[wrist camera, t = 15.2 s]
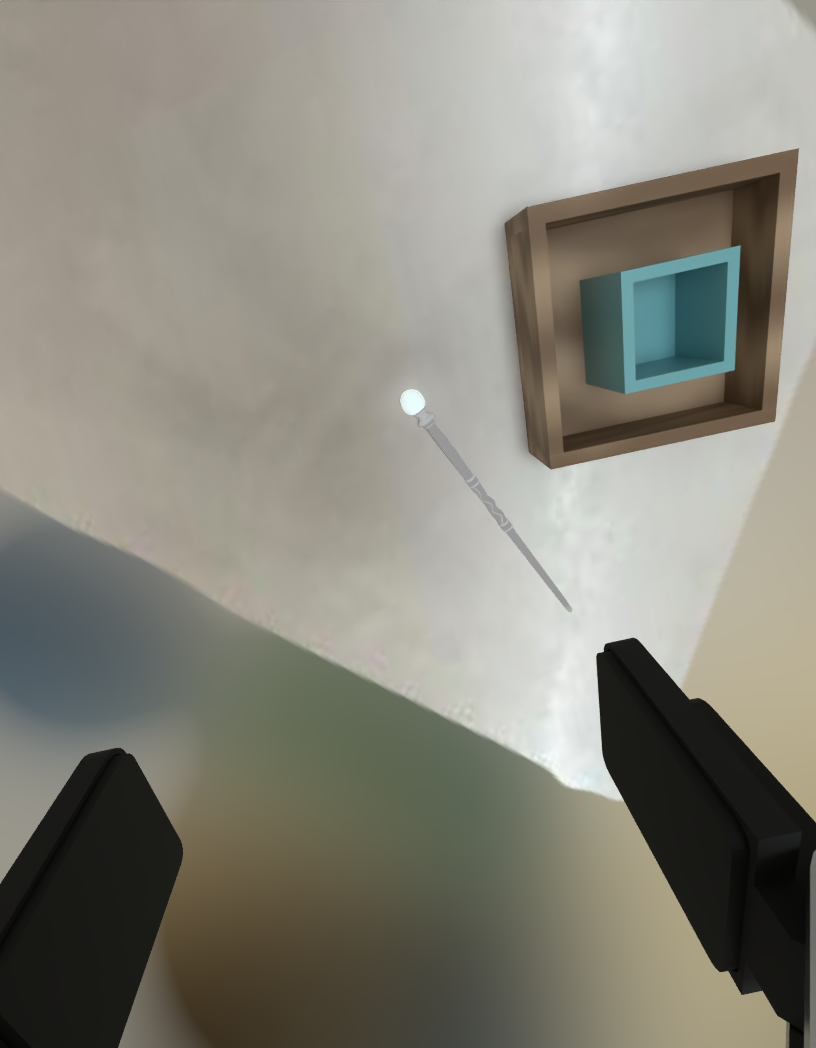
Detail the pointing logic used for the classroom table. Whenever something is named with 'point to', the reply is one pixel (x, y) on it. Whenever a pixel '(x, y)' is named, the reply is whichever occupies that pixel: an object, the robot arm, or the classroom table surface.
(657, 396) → the big crate
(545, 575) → the magic wand
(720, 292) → the small crate
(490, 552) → the classroom table surface
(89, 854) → the robot arm
